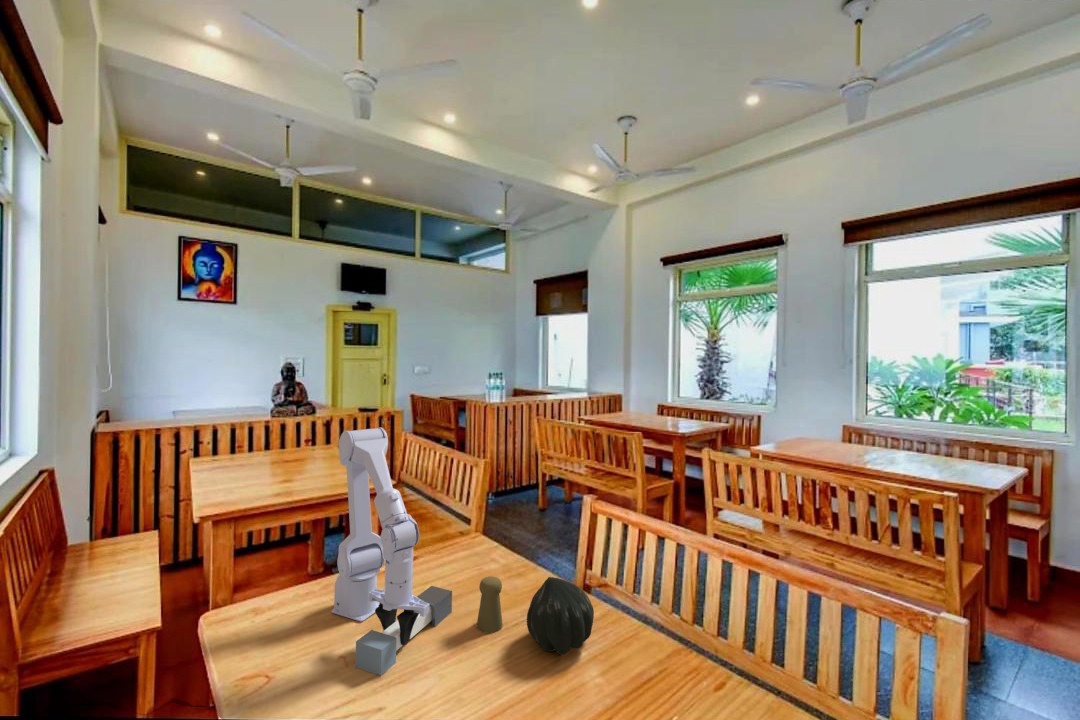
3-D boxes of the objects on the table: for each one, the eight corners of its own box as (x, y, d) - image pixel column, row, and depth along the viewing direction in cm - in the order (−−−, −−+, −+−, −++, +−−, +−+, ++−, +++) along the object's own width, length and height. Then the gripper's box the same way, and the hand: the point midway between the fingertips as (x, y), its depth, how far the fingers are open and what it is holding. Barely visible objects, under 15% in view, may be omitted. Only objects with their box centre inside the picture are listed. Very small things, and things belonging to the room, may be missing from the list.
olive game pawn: (498, 634, 112) (499, 586, 112) (472, 630, 113) (474, 583, 113) (505, 620, 118) (506, 574, 118) (481, 616, 119) (482, 571, 119)
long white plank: (368, 658, 101) (369, 641, 101) (424, 612, 118) (425, 598, 118) (382, 663, 100) (382, 646, 99) (437, 616, 117) (437, 601, 117)
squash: (616, 628, 106) (585, 560, 114) (563, 656, 97) (532, 580, 105) (583, 646, 115) (556, 581, 123) (531, 672, 106) (505, 601, 114)
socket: (355, 666, 100) (355, 641, 99) (371, 654, 104) (371, 629, 104) (380, 676, 97) (381, 650, 97) (395, 662, 101) (396, 637, 101)
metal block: (413, 620, 117) (414, 598, 116) (431, 606, 123) (431, 585, 123) (434, 626, 114) (435, 604, 114) (451, 612, 121) (452, 591, 121)
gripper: (358, 578, 105) (357, 641, 106) (415, 593, 100) (413, 660, 100) (381, 565, 112) (380, 624, 112) (435, 578, 106) (434, 640, 107)
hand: (397, 640), depth 107 cm, fingers closed on long white plank, 3 cm apart
